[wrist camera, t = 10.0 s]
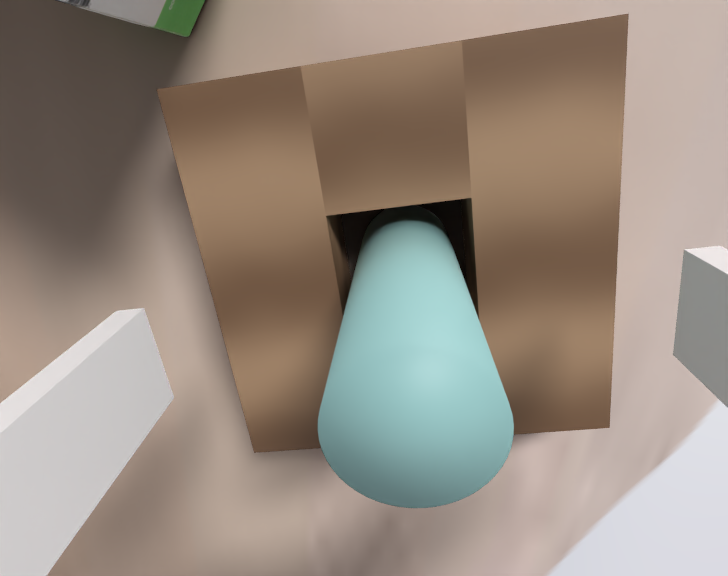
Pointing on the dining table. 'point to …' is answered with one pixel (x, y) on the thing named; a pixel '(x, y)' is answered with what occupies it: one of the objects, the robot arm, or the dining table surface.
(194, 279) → the dining table surface
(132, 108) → the dining table surface
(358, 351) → the peg
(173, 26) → the ink box
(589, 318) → the socket
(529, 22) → the dining table surface
